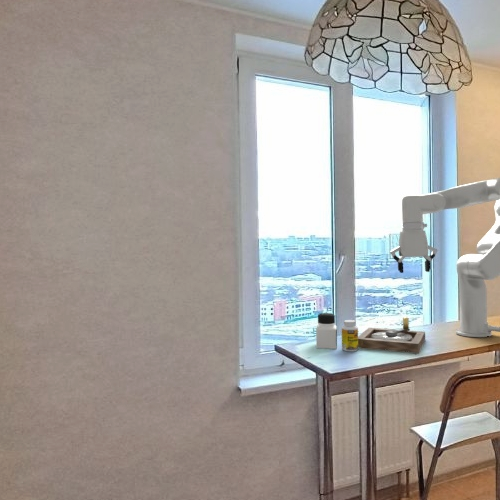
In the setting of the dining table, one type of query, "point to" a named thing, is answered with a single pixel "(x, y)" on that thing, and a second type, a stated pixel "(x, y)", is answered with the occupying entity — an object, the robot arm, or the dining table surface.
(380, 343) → the housing
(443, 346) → the dining table surface
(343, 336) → the supplement bottle
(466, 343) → the dining table surface
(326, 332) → the medicine bottle
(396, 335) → the dial
